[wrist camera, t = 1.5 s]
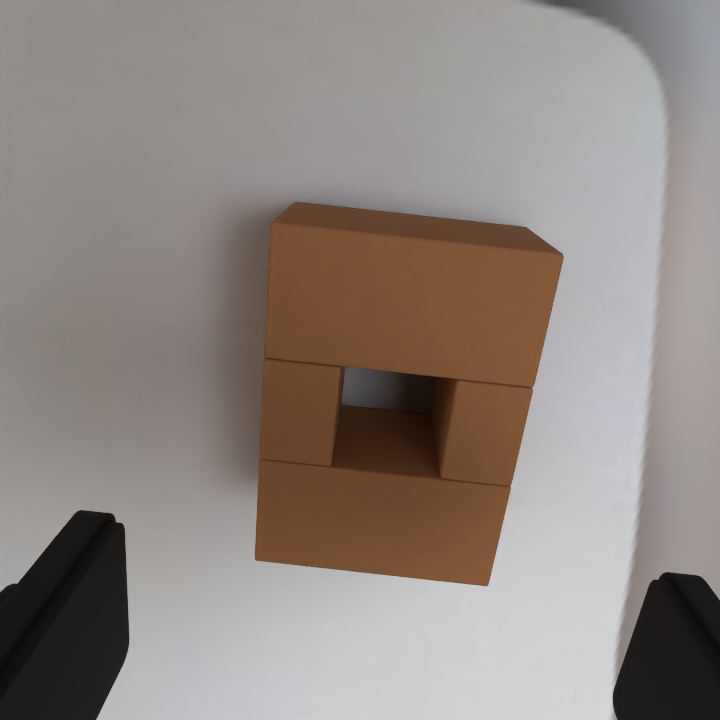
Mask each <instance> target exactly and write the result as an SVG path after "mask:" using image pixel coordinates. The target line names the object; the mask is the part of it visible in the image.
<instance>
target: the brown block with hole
mask: <svg viewBox="0 0 720 720" xmlns="http://www.w3.org/2000/svg"><path fill="white" fill-rule="evenodd" d="M563 258H564V257H563V254H562V253H560V252H559V251H558V250H556V249H555V248H554V247H552V246H551V245H550V244H548V243H547V242H546V241H544V240H543V239H541V238H540V237H539V236H537V235H536V234H535V233H533V232H532V231H531V230H529V229H528V228H526V227H519V226H510V225H501V224H492V223H483V222H474V221H465V220H456V219H447V218H438V217H429V216H420V215H411V214H402V213H393V212H384V211H374V210H365V209H356V208H347V207H338V206H329V205H320V204H311V203H302V202H295V203H294V204H293V205H291V206H290V207H289V208H288V209H287V210H286V211H284V212H283V213H282V214H281V215H280V216H279V217H277V218H276V219H275V220H274V221H273V222H272V223H271V225H270V246H269V268H268V289H267V311H266V332H265V357H266V358H265V360H264V373H263V394H262V416H261V438H260V460H259V479H258V501H257V523H256V544H255V560H257V561H265V562H274V563H283V564H292V565H301V566H310V567H319V568H328V569H337V570H346V571H355V572H364V573H373V574H382V575H391V576H400V577H409V578H418V579H427V580H436V581H445V582H454V583H463V584H472V585H481V586H488V584H489V580H490V576H491V571H492V567H493V563H494V558H495V554H496V550H497V545H498V541H499V537H500V532H501V528H502V524H503V519H504V515H505V511H506V507H507V502H508V498H509V494H510V489H511V488H510V485H511V483H512V479H513V475H514V471H515V466H516V462H517V458H518V453H519V449H520V445H521V440H522V436H523V432H524V427H525V423H526V419H527V414H528V410H529V406H530V401H531V397H532V393H533V389H532V387H533V386H534V384H535V380H536V375H537V371H538V367H539V362H540V358H541V354H542V349H543V345H544V341H545V336H546V332H547V328H548V323H549V319H550V315H551V310H552V306H553V302H554V297H555V293H556V289H557V284H558V280H559V276H560V271H561V267H562V263H563ZM345 367H353V368H362V369H371V370H380V371H389V372H398V373H407V374H416V375H425V376H434V377H436V381H435V387H434V394H433V400H432V406H431V412H430V414H431V415H424V414H415V413H406V412H397V411H388V410H379V409H370V408H361V407H352V406H343V405H341V403H342V393H343V383H344V373H345Z"/></svg>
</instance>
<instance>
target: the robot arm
mask: <svg viewBox="0 0 720 720" xmlns="http://www.w3.org/2000/svg"><path fill="white" fill-rule="evenodd" d="M128 647H129V621H128V597H127V572H126V548H125V528H124V525H123V524H122V523H116V521H115V517H114V515H113V514H111V513H103V512H93V511H84V510H80V511H77V512H76V513H75V514H74V515H73V516H72V518H71V519H70V520H69V521H68V522H67V524H66V525H65V526H64V527H63V529H62V530H61V531H60V532H59V533H58V535H57V536H56V537H55V538H54V540H53V541H52V542H51V543H50V545H49V546H48V547H47V548H46V549H45V551H44V552H43V553H42V554H41V556H40V557H39V558H38V559H37V560H36V562H35V563H34V564H33V565H32V567H31V568H30V569H29V570H28V571H27V573H26V574H25V575H24V576H23V578H22V579H21V580H20V581H19V583H18V584H11V585H9V586H7V587H5V588H4V589H3V590H2V591H1V592H0V720H96V719H97V717H98V715H99V713H100V711H101V709H102V707H103V705H104V702H105V700H106V698H107V696H108V694H109V692H110V690H111V688H112V686H113V684H114V682H115V680H116V678H117V676H118V674H119V672H120V670H121V668H122V666H123V663H124V661H125V658H126V655H127V652H128ZM613 706H614V711H615V714H616V717H617V719H618V720H720V600H719V599H718V597H717V596H716V595H715V593H714V592H713V591H712V589H711V588H710V587H709V585H708V584H707V582H706V581H705V580H704V579H703V578H702V577H700V576H697V575H688V574H679V573H670V572H666V573H663V574H662V575H661V576H660V578H659V580H653V581H652V582H651V583H650V585H649V587H648V590H647V593H646V596H645V599H644V602H643V605H642V608H641V611H640V614H639V617H638V620H637V623H636V626H635V629H634V632H633V635H632V638H631V640H630V643H629V647H628V649H627V652H626V655H625V658H624V661H623V664H622V667H621V670H620V673H619V676H618V679H617V682H616V685H615V688H614V691H613Z"/></svg>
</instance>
